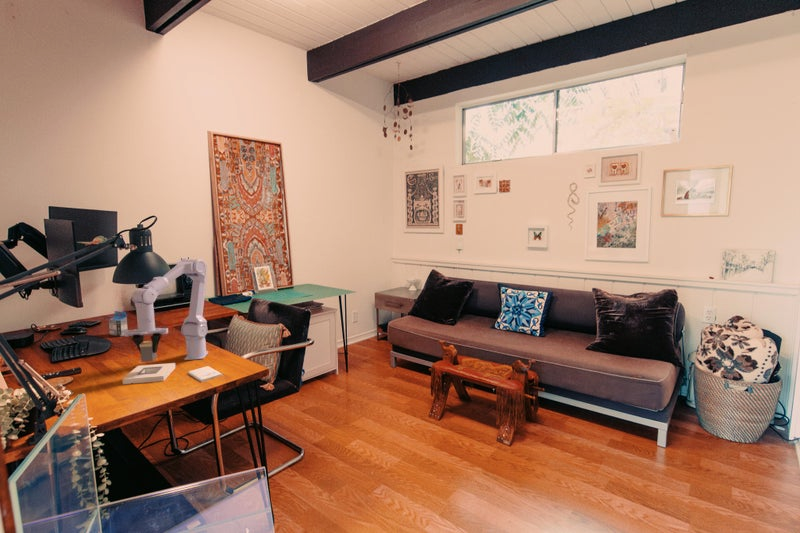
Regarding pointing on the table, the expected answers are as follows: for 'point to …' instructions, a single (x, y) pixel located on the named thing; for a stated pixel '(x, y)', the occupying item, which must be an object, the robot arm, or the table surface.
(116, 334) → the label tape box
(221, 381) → the table surface
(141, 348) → the plug
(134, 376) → the socket
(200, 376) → the external hard drive
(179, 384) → the table surface
